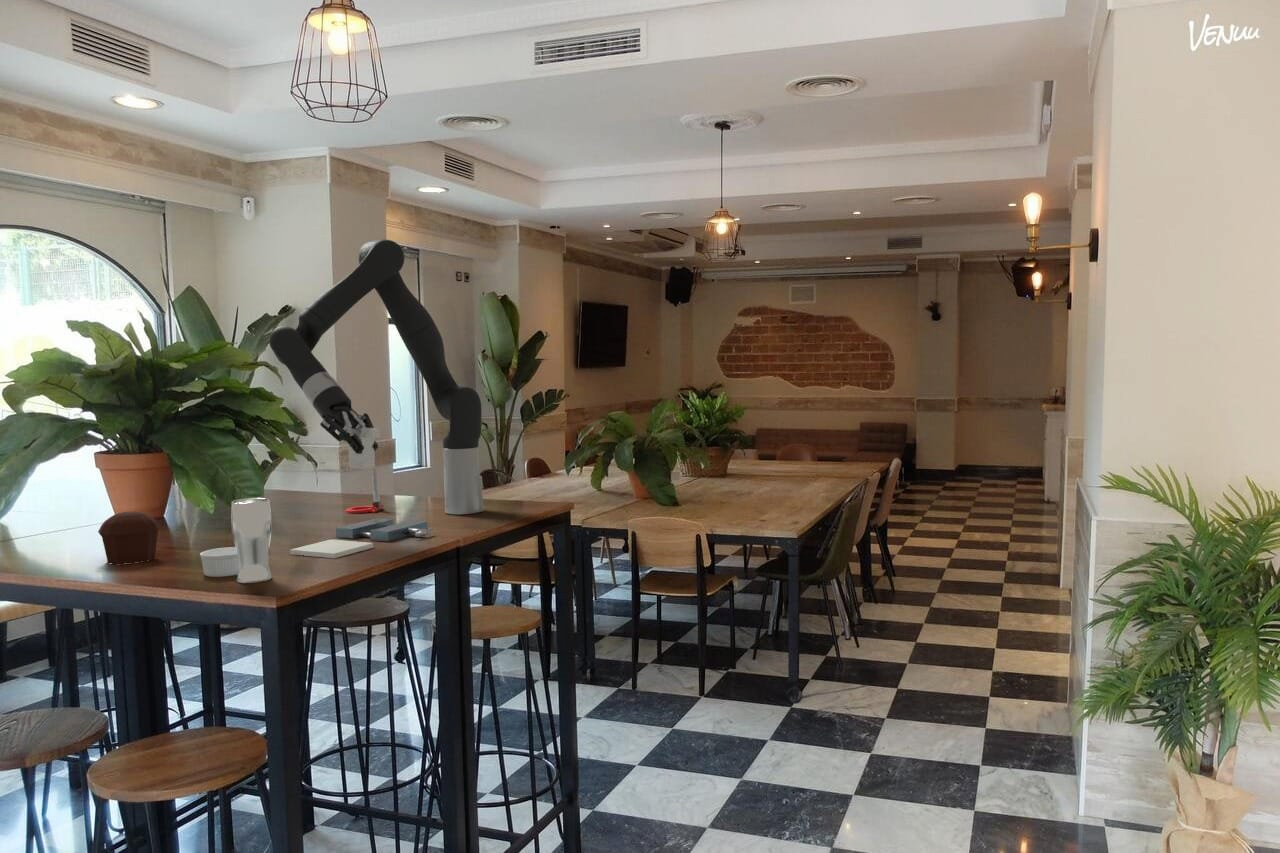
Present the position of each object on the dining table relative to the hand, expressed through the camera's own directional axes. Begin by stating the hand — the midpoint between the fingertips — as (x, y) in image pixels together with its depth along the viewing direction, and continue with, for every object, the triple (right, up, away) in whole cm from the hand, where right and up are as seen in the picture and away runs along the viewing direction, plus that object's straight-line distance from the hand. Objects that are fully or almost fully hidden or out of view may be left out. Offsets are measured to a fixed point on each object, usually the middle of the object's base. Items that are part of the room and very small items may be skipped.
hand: (368, 450), depth 217 cm
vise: (+3, -20, +7) cm, 21 cm away
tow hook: (-14, -18, +43) cm, 49 cm away
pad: (-5, -21, -11) cm, 24 cm away
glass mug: (-1, -4, +1) cm, 4 cm away
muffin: (-45, -23, -16) cm, 53 cm away
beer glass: (-11, -24, -37) cm, 45 cm away
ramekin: (-19, -23, -30) cm, 43 cm away
